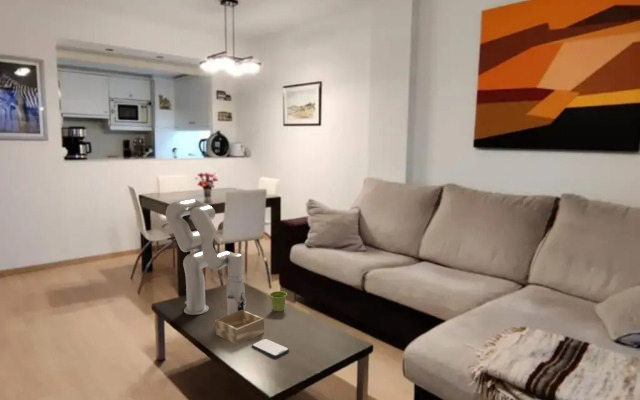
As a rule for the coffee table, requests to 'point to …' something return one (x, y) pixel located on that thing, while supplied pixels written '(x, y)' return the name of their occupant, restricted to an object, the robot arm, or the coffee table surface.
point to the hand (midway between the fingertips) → (236, 311)
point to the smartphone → (270, 348)
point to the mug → (232, 306)
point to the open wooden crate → (239, 326)
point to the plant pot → (278, 300)
